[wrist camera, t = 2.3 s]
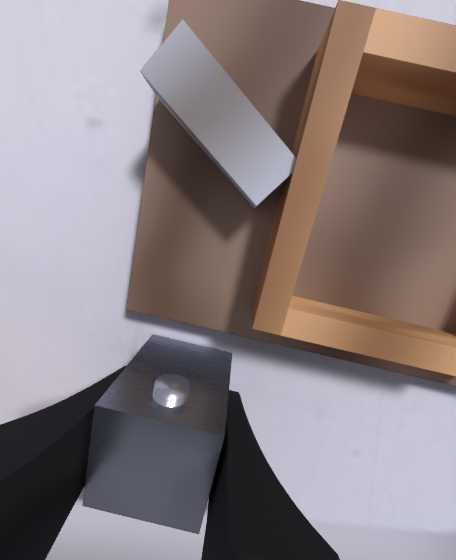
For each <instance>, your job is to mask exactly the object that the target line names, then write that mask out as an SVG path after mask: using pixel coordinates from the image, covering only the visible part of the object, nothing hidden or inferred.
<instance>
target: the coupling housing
mask: <svg viewBox="0 0 456 560" xmlns="http://www.w3.org/2000/svg"><path fill="white" fill-rule="evenodd" d="M140 72H141V73H142V75H143V76H144V78H145V79H146V81H147V82H148V84H149V85H150V87H151V88H152V90H153V91H154V93H155V94H156V99H155V106H154V113H153V120H152V127H151V135H150V142H149V149H148V156H147V164H146V171H145V178H144V185H143V192H142V200H141V207H140V214H139V221H138V229H137V236H136V243H135V250H134V257H133V265H132V272H131V279H130V286H129V294H128V301H127V308H126V309H128V310H133V311H137V312H141V313H145V314H150V315H154V316H158V317H163V318H167V319H171V320H175V321H180V322H184V323H188V324H193V325H197V326H201V327H205V328H210V329H214V330H218V331H222V332H227V333H231V334H235V335H240V336H244V337H248V338H252V339H257V340H261V341H265V342H270V343H274V344H278V345H282V346H287V347H291V348H295V349H300V350H304V351H308V352H312V353H317V354H321V355H325V356H330V357H334V358H338V359H342V360H347V361H351V362H355V363H360V364H364V365H368V366H372V367H377V368H381V369H385V370H390V371H394V372H398V373H402V374H407V375H411V376H415V377H419V378H424V379H428V380H432V381H437V382H441V383H445V384H449V385H454V386H456V25H452V24H447V23H442V22H438V21H433V20H429V19H424V18H419V17H415V16H410V15H406V14H401V13H396V12H392V11H387V10H383V9H378V8H373V7H369V6H364V5H360V4H355V3H350V2H346V1H341V0H338V3H337V5H336V8H332V7H327V6H323V5H318V4H314V3H309V2H304V1H300V0H169V5H168V12H167V19H166V26H165V33H164V41H163V44H162V45H161V46H160V47H159V48H158V50H157V51H156V52H155V53H154V54H153V56H152V57H151V58H150V59H149V60H148V62H147V63H146V64H145V65H144V66H143V68H142V69H141V70H140Z"/></svg>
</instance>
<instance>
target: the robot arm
mask: <svg viewBox="0 0 456 560" xmlns="http://www.w3.org/2000/svg"><path fill="white" fill-rule="evenodd" d="M125 368H126V366H124V367H123V368H121V369H119V370H117V371H116V372H114V373H112V374H111V375H109V376H107V377H106V378H104V379H102V380H100V381H99V382H97V383H95V384H93V385H92V386H90V387H88V388H86V389H84V390H82V391H80V392H78V393H77V394H75V395H73V396H71V397H69V398H67V399H65V400H63V401H61V402H58V403H56V404H54V405H52V406H49V407H47V408H45V409H42V410H40V411H37V412H35V413H32V414H30V415H27V416H24V417H21V418H18V419H16V420H13V421H10V422H7V423H4V424H1V425H0V560H45V559H46V557H47V555H48V553H49V551H50V549H51V547H52V545H53V543H54V542H55V540H56V538H57V536H58V534H59V532H60V530H61V528H62V526H63V524H64V523H65V520H66V519H67V517H68V515H69V513H70V511H71V510H72V508H73V506H74V504H75V502H76V500H77V499H78V497H79V495H80V493H81V491H82V490H83V488H84V486H85V481H86V472H87V464H88V456H89V447H90V439H91V430H92V422H93V414H94V405H95V404H96V403H97V402H98V400H99V399H100V398H101V397H102V396H103V394H104V393H105V392H106V391H107V389H108V388H109V387H110V386H111V385H112V383H113V382H114V381H115V380H116V379H117V377H118V376H119V375H120V374H121V373H122V371H123V370H124V369H125ZM201 560H340V559H339V556H338V554H337V553H336V552H335V551H334V550H333V549H332V548H331V547H330V545H329V544H328V543H327V542H326V541H325V540H324V539H323V538H322V536H321V535H320V534H319V533H318V532H317V531H316V530H315V529H314V528H313V526H312V525H311V524H310V523H309V521H308V520H307V519H306V518H305V516H304V515H303V514H302V513H301V511H300V510H299V509H298V508H297V506H296V505H295V504H294V502H293V501H292V499H291V498H290V497H289V495H288V494H287V492H286V491H285V489H284V488H283V486H282V485H281V484H280V482H279V481H278V479H277V477H276V476H275V474H274V472H273V471H272V469H271V467H270V466H269V464H268V462H267V460H266V458H265V457H264V455H263V453H262V451H261V449H260V447H259V445H258V443H257V440H256V438H255V436H254V434H253V431H252V429H251V426H250V424H249V422H248V419H247V416H246V413H245V410H244V407H243V404H242V401H241V397H240V394H239V393H238V392H235V391H231V390H229V394H228V405H227V415H226V426H225V437H224V440H223V444H222V448H221V452H220V456H219V459H218V463H217V467H216V471H215V475H214V478H213V482H212V486H211V490H210V494H209V502H208V514H207V524H206V531H205V538H204V545H203V552H202V559H201Z"/></svg>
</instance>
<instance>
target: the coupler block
mask: <svg viewBox="0 0 456 560" xmlns="http://www.w3.org/2000/svg"><path fill="white" fill-rule="evenodd" d="M231 361H232V353H229V352H225V351H221V350H216V349H212V348H208V347H204V346H199V345H195V344H191V343H187V342H182V341H178V340H174V339H170V338H165V337H161V336H157V335H152V336H151V337H150V339H149V340H148V341H147V342H146V343H145V345H144V346H143V347H142V348H141V350H140V351H139V352H138V353H137V354H136V356H135V357H134V358H133V359H132V360H131V362H130V363H129V364H128V365H127V366H126V368H125V369H124V370H123V371H122V373H121V374H120V375H119V376H118V377H117V379H116V380H115V381H114V382H113V383H112V385H111V386H110V387H109V388H108V389H107V391H106V392H105V393H104V394H103V396H102V397H101V398H100V399H99V400H98V402H97V403H96V404H95V405H94V414H93V422H92V430H91V439H90V447H89V456H88V464H87V472H86V481H85V489H84V498H83V506H86V507H90V508H94V509H98V510H102V511H106V512H110V513H114V514H118V515H123V516H127V517H131V518H135V519H139V520H143V521H147V522H151V523H155V524H159V525H164V526H167V527H172V528H176V529H180V530H184V531H189V532H192V533H196V534H199V532H200V528H201V524H202V520H203V516H204V513H205V509H206V505H207V501H208V497H209V494H210V490H211V486H212V482H213V478H214V475H215V471H216V467H217V463H218V459H219V456H220V452H221V448H222V444H223V440H224V437H225V426H226V415H227V405H228V394H229V383H230V372H231Z"/></svg>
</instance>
